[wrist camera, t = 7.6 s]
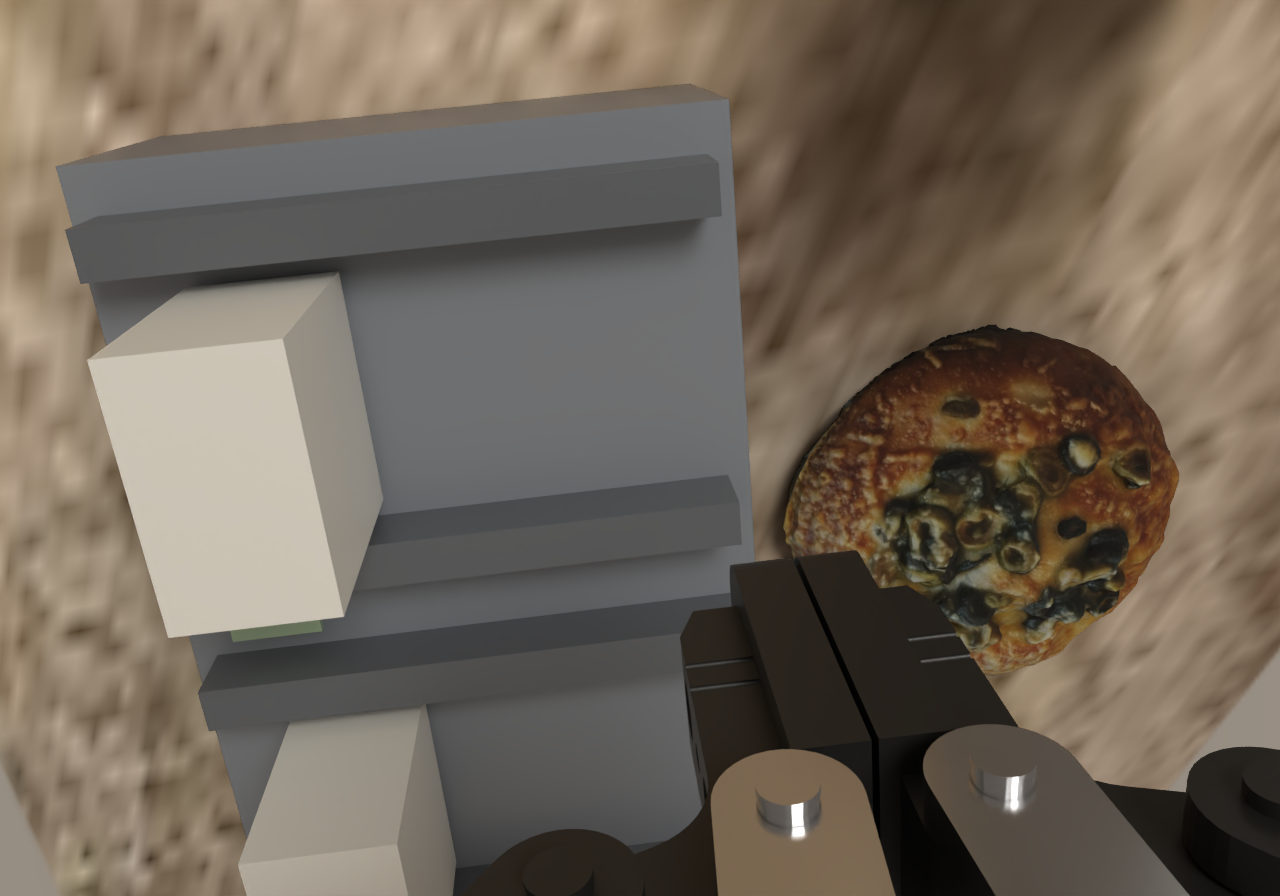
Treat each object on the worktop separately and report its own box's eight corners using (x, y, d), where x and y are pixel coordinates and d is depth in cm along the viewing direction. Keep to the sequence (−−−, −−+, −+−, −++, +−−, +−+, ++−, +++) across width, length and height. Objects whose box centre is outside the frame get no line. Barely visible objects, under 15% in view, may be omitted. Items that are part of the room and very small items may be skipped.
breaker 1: (338, 271, 21) (282, 338, 17) (383, 499, 23) (343, 616, 19) (186, 287, 21) (87, 360, 17) (243, 515, 23) (168, 638, 18)
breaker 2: (423, 693, 25) (397, 844, 20) (456, 860, 27) (438, 1034, 22) (293, 709, 25) (237, 864, 20) (335, 876, 27) (293, 1054, 22)
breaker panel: (689, 83, 27) (742, 104, 20) (735, 746, 34) (785, 930, 27) (159, 136, 26) (20, 176, 19) (322, 799, 34) (265, 1001, 27)
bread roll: (1135, 267, 29) (1237, 342, 25) (1143, 579, 35) (1228, 685, 31) (741, 375, 30) (775, 465, 26) (810, 665, 36) (848, 780, 31)
